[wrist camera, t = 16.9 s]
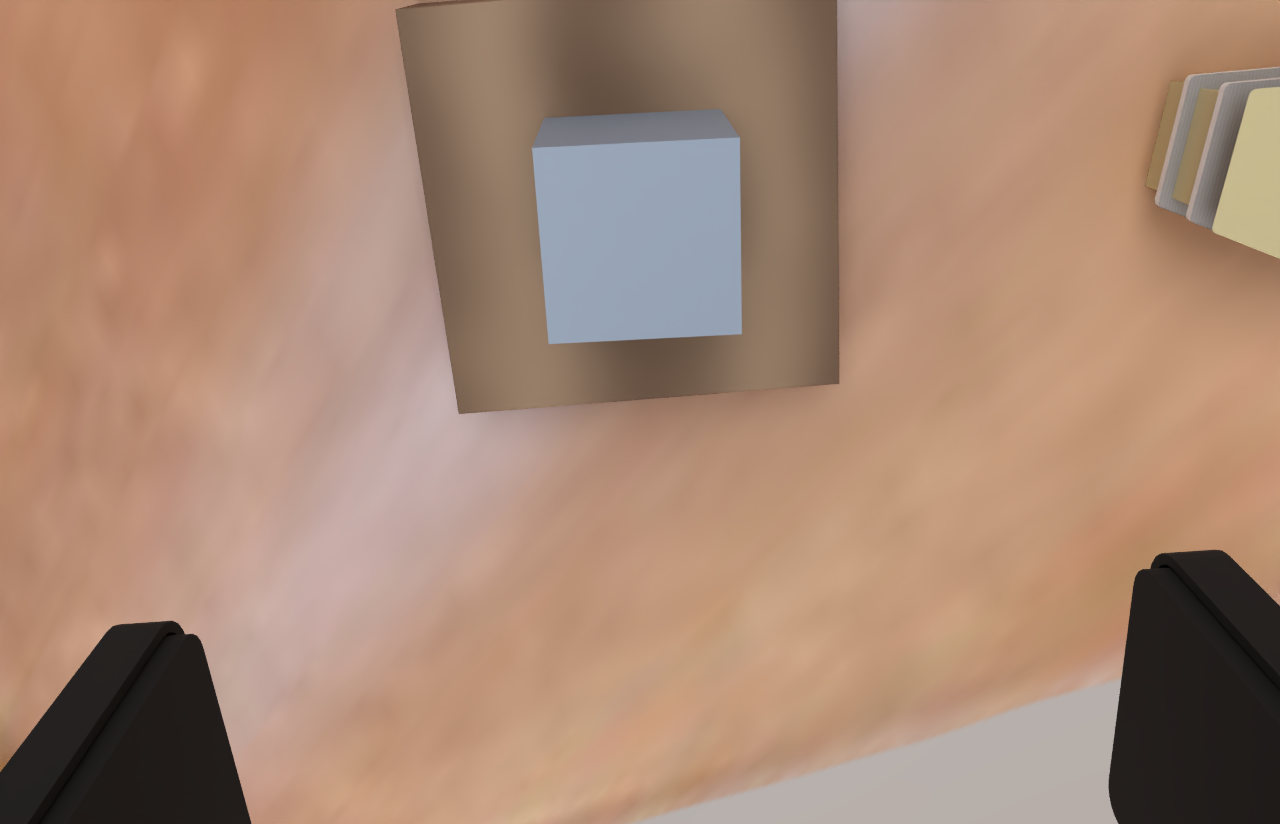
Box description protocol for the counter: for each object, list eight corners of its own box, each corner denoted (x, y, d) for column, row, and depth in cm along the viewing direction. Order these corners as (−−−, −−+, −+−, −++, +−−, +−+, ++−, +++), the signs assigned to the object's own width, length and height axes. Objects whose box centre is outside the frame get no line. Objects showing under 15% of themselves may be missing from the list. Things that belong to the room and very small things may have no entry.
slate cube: (720, 108, 31) (739, 137, 26) (723, 279, 33) (741, 334, 28) (543, 118, 31) (532, 148, 26) (557, 288, 33) (548, 343, 28)
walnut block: (812, -31, 33) (836, -28, 29) (817, 341, 38) (839, 383, 34) (420, 2, 33) (395, 9, 29) (474, 369, 38) (458, 413, 34)
